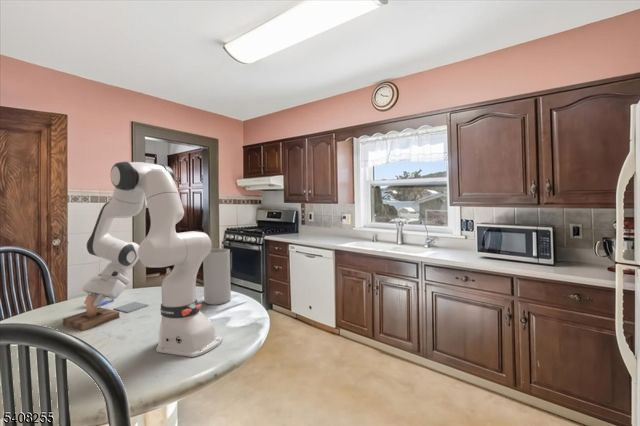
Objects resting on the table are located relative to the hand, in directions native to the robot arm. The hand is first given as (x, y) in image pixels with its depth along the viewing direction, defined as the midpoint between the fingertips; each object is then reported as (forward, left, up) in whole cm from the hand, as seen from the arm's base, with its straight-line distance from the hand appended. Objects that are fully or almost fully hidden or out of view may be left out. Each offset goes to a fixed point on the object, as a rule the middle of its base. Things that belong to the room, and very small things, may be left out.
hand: (89, 304), depth 130 cm
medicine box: (+18, -16, -8) cm, 25 cm away
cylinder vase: (-30, -42, -7) cm, 52 cm away
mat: (0, -18, -7) cm, 19 cm away
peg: (0, -1, -6) cm, 6 cm away
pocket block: (0, -1, -7) cm, 7 cm away
